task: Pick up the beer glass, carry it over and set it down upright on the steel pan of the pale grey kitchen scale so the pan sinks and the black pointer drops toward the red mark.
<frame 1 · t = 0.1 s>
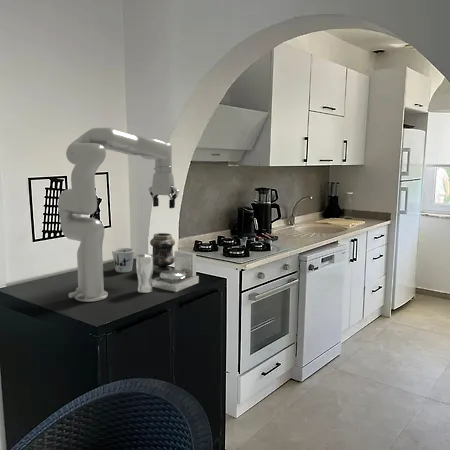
hand: (163, 207, 214), 31 cm above the table, tool pointing down, fingers open, 9 cm apart
scale pan: (173, 274, 198), point 5 cm above the table, slide at 0.0 cm
apothecary jar: (162, 271, 221), on the table
scale: (175, 284, 200), on the table
mug: (124, 269, 224), on the table
beer glass: (145, 291, 191), on the table
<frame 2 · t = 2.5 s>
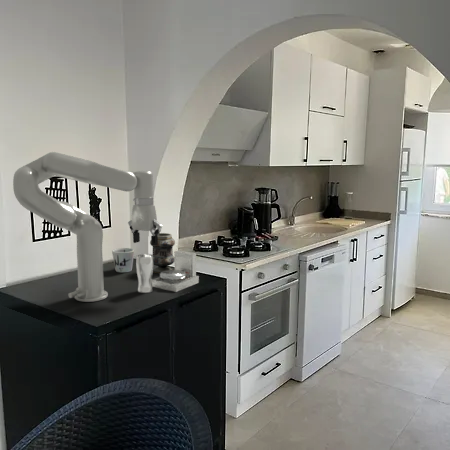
hand: (145, 243, 188), 20 cm above the table, tool pointing down, fingers open, 9 cm apart
nothing on the table moved.
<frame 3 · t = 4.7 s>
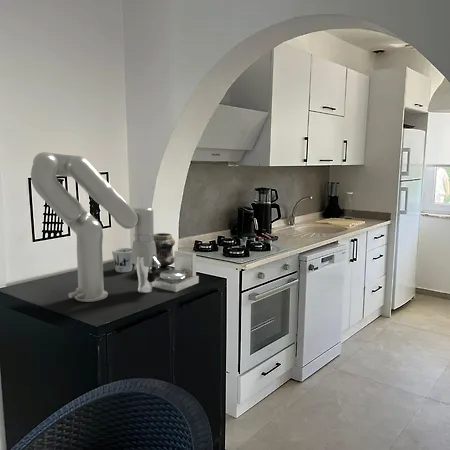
hand: (145, 279, 190), 5 cm above the table, tool pointing down, fingers closed on beer glass, 6 cm apart
beer glass: (145, 291, 191), on the table, touching gripper
everything else where it was.
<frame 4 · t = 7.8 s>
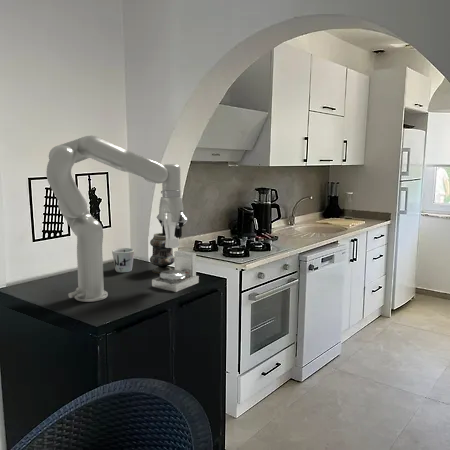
hand: (172, 236, 194), 22 cm above the table, tool pointing down, fingers closed on beer glass, 6 cm apart
beer glass: (172, 247, 195), point 17 cm above the table, touching gripper
everything else where it was.
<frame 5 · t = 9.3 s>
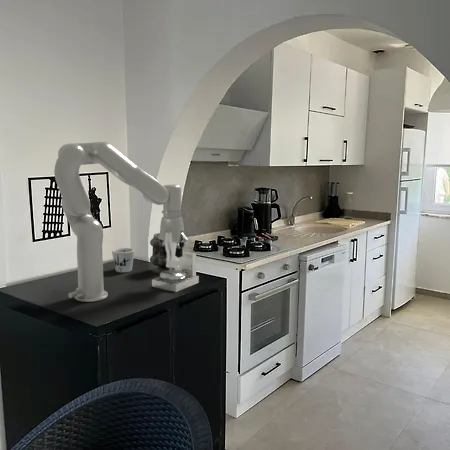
hand: (172, 255, 196), 13 cm above the table, tool pointing down, fingers closed on beer glass, 6 cm apart
beer glass: (173, 266, 197), point 8 cm above the table, touching gripper
everything else where it was.
when the fingers open (11 cm above the table, at t = 10.7 s): beer glass drops 2 cm, resting on scale pan.
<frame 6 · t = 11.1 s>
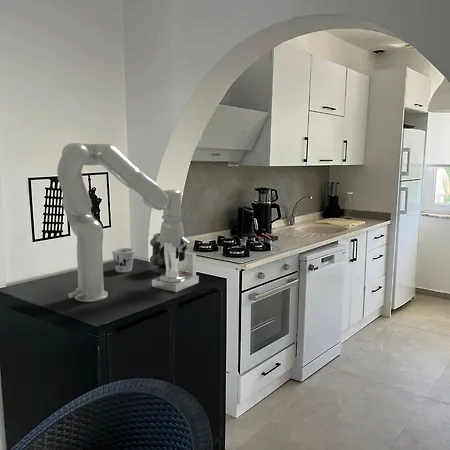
hand: (172, 259, 196), 12 cm above the table, tool pointing down, fingers open, 9 cm apart
scale pan: (173, 277, 198), point 4 cm above the table, slide at -1.2 cm, touching beer glass
beer glass: (172, 276, 197), point 4 cm above the table, touching scale pan
everything else where it was.
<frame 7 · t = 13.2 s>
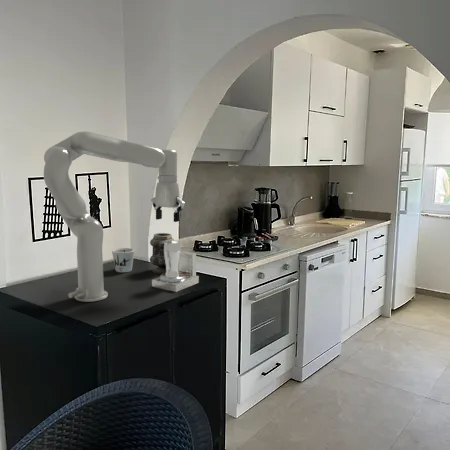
hand: (167, 220, 194), 28 cm above the table, tool pointing down, fingers open, 9 cm apart
nothing on the table moved.
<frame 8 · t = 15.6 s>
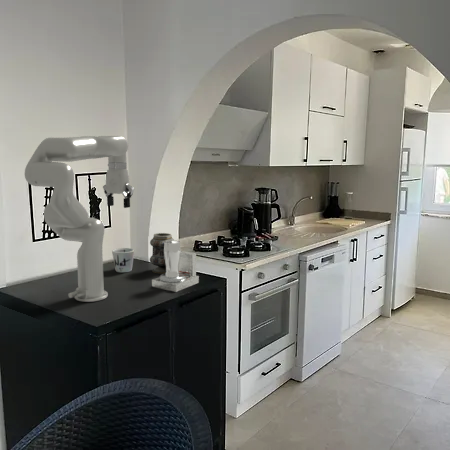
hand: (118, 206, 198), 33 cm above the table, tool pointing down, fingers open, 9 cm apart
nothing on the table moved.
at the end: beer glass 0.2 cm from the target spot on the scale, point 4.1 cm above the scale's base; beer glass tilted 0°; beer glass touching scale pan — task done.
